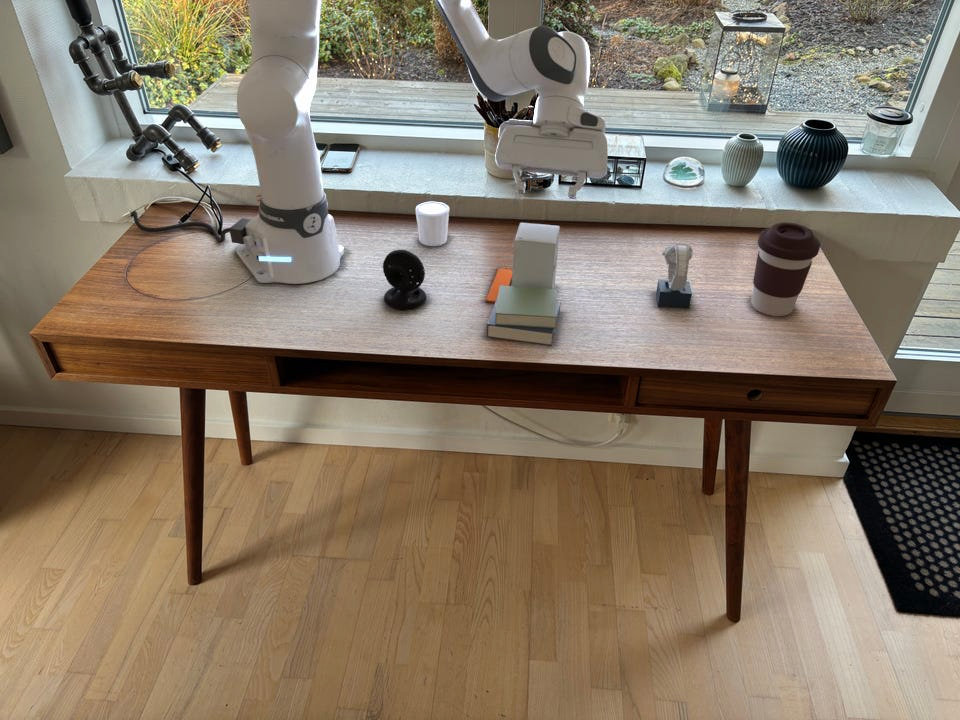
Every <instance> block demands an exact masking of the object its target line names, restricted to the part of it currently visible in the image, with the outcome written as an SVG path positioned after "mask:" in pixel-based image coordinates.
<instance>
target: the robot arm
mask: <svg viewBox="0 0 960 720" xmlns="http://www.w3.org/2000/svg"><path fill="white" fill-rule="evenodd" d="M433 1H434V3H435V5H436V8H437V9H438V12H439V14H440V16H441V18H442V20H443V22H444V24H445V25H446V27H447V29H448V31H449V33H450V34H451V36H452V39H453V41H454V42H455V44H456V46H457V48H458V50H459V52H460V54H461V55H462V57H463V59H464V62H465V64H466V66H467V68H468V73H469V75H470V79H471V81H472V84H473V85H474V87H475V88H476V90H477V91H478V92H479V93H480V94H481V95H482V96H483V97H485V98H486V99H487V100H490V101H491V102H501V101H505V100H507V99H509V98H511V97H513V96H516V95H517V94H521V93H525V92H528V91H532V90H533V91H535V92H537V94H538V97H537V99H536V102H535V106H534V107H535V108H534V114H533V120H526V119H525V120H524V119H515V118H509V119H508V120H506V121H504V122H502V123H501V124H500V126H499V128H498V134H497V135H498V142H497V143H498V144H497V146H496V151H495V155H494V161H495V163H496V165H497V167H498V168H499V169H500V170H505V171H506V170H507V171H512V175H513V178H514V180H515V183H516V185H515V193H516V194H520V195H524V194H525V192H526V191H525V190H526V181H522V180H521V179H520V177H521V176H522V173H523V172H525V173H535V174H546V175H557V176H568V177H576V179H577V181H576V183H575V184H574V186H571V185H569V187H568V193H567V199H569V200H577V198H578V192H579V191H580V189H582V187H583V186H584V185H585V184H586V179H587V178H588V179H596V180H601V179H603V178H604V177H605V176H606V175H607V173H608V162H609V161H608V159H609V158H608V157H609V155H608V154H609V153H608V138H607V137H606V129H607V127H606V122H605V119H604V118H603V117H601V116H600V115H596V114H594V113H592V112H590V111H587V110H585V104H584V98H585V95H586V93H587V91H588V87H589V80H590V72H591V71H590V69H591V57H590V55H591V53H590V48H589V45H588V42H587V41H586V40H585V38H584V37H582V36H581V35H579V34H577V33H575V32H572V31H560V32H557V30H555V29H554V28H552V27H551V26H547V25H539V26H535V27H531V28H529V29H528V28H527V29H525V30H523V31H520V32H518V33H516V34H513V35H510V36H508V37H505V38H502V39H495V38H493V37H492V36H490V35H489V33H488V31H487V30H486V27H485V26H484V24H483V22H482V19H481V18H480V16H479V14H478V11H477V9H476V8H475V5H474V3H473V1H472V0H433ZM322 4H323V0H248V7H247V8H248V9H247V10H248V11H247V12H248V16H249V22H250V23H249V24H250V34H251V35H250V36H251V38H250V39H251V41H250V43H251V55H250V62H249V66H248V70H247V71H246V73H245V74H244V76H243V77H242V78H241V80H240V82H239V84H238V86H237V93H236V110H237V115H238V118H239V120H240V122H241V124H242V125H243V127H244V130H245V133H246V136H247V140H248V142H249V145H250V148H251V151H252V154H253V156H254V161H255V166H256V173H257V178H258V185H259V189H260V194H259V195H256V198H257V200H256V202H259V206H258V213H257V215H255V216H254V217H253V218H245V217H242V218H240V219H239V220H238V221H237V222H235V223H234V224H233V225H232V226H230V227H226V228H224V229H222V230H221V231H220V234H219V233H218V232H217V230H216V229H215V227H213V226H212V225H210V224H209V223H206V222H202V221H190V222H189V221H188V222H182V223H177V224H171V225H166V226H161V227H147V226H144V225H143V224H142V223H141V222H140V220H139V216H138V211H136V210H132V211H131V213H130V217H133V221H134V224H135V226H137V228H138V229H140V231H144V232H150V233H159V232H166V231H172V230H177V229H182V228H187V227H202V228H205V229H207V230H209V231H210V232H211V233H212V235H213V236H214V238H215V239H216V241H217V242H219V243H223V242H225V240H226V234H227V233H229V235H230V241H231V243H232V244H238V245H236V247H235V253H236V254H237V256H238V257H239V259H240V260H241V262H243V264H244V265H245V266H246V268H247V269H248V270H249V272H250V273H251V274H252V276H253V277H254V278H255V280H256V281H257V282H258V283H260V284H271V283H272V284H273V283H281V284H289V285H302V284H308V283H310V284H311V283H314V282H318V281H321V280H324V279H326V278H328V277H330V276H332V275H333V274H335V273H336V272H337V271H338V270H339V268H340V266H341V258H342V257H343V255H344V254H345V247H344V246H343V245H340V244H339V240H338V234H337V229H336V224H335V220H334V217H333V216H332V215H331V214H329V202H328V199H327V194H326V193H325V191H324V185H323V177H322V168H321V158H320V151H319V149H318V147H317V144H316V141H315V136H314V132H313V127H312V123H311V117H310V116H311V113H310V112H311V111H310V109H311V102H312V100H313V97H314V94H315V92H316V88H317V77H318V63H319V48H320V47H319V46H320V26H321V25H320V24H321V15H322V13H321V12H322V6H323V5H322Z"/></svg>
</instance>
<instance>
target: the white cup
mask: <svg viewBox="0 0 960 720" xmlns="http://www.w3.org/2000/svg"><path fill="white" fill-rule="evenodd" d="M415 217H416V225H417V231H418V232H417V233H418V239H419V243H421V244H422V245H424V246H429V247H438V246H442V245H444V244H446V243H447V241H448V232H449V231H448V229H449V218H450V206H449V205H448V204H446V203H444V202H439V201H426V202H422V203H419V204H418V205H416V207H415Z"/></svg>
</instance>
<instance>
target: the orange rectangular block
mask: <svg viewBox="0 0 960 720" xmlns="http://www.w3.org/2000/svg"><path fill="white" fill-rule="evenodd" d="M512 272H513V269H507V268H498V270H497V272H496V274H495V277H494V279H493V281H492V285H491V287H490V290H489V291H488V294H487V296H486V298H485V302H486V303H493V304H495V302H496V300H497V297H498V293H499V287H500V286H510V284H511V283H512Z"/></svg>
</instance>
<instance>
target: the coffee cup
mask: <svg viewBox="0 0 960 720" xmlns="http://www.w3.org/2000/svg"><path fill="white" fill-rule="evenodd" d="M757 245H758V247H759V251H758V253H757V255H756V262H755V267H754V274H753V282H752V283H753V287H752V293H751V300H750V302H751V306H752V307H753V308H754V309H755V310H756V311H758V312H759V313H762V314H764V315H767V316H772V317H782V316H783V317H784V316H787V315H790V314H791V313H792V312H793V310H794V308H795V305H796V303H797V300H798V298H799V295H800V294H801V292H802V290H803V288H804V286H805V283H806V280H807V277H808V275H809V273H810V270H811V267H812V264H813V262H812V260H813V258H814V259H815V257H817V256H818V255H819V252H820V249H821V242H820V240H819V239H818V238H817V237H816V236H815V235H814V233H813V232H812V230H811V229H810V228H809V227H807V226H806V225H805V226H804V225H802V224H799V223H796V222H795V223H794V222H784V221H783V222H777V223H774V224H773V225H772V226H770V227H767V228H764V229H763V230H762V231H760V233H759V235H758V239H757Z"/></svg>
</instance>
